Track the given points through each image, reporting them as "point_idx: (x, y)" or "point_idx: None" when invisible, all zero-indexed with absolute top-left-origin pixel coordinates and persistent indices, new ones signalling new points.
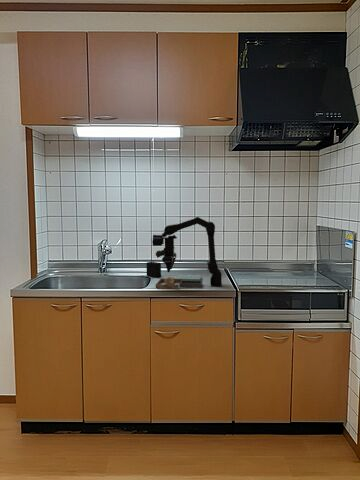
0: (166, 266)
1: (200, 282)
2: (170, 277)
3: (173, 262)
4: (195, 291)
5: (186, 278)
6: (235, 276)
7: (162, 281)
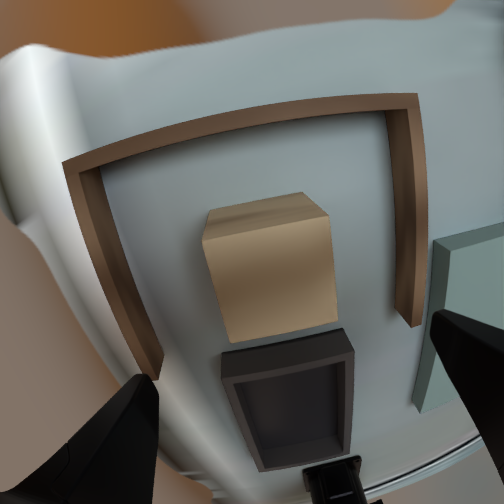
0: (58, 457)
1: (340, 441)
2: (304, 287)
3: (492, 446)
4: None
5: None
6: None
7: (391, 117)
